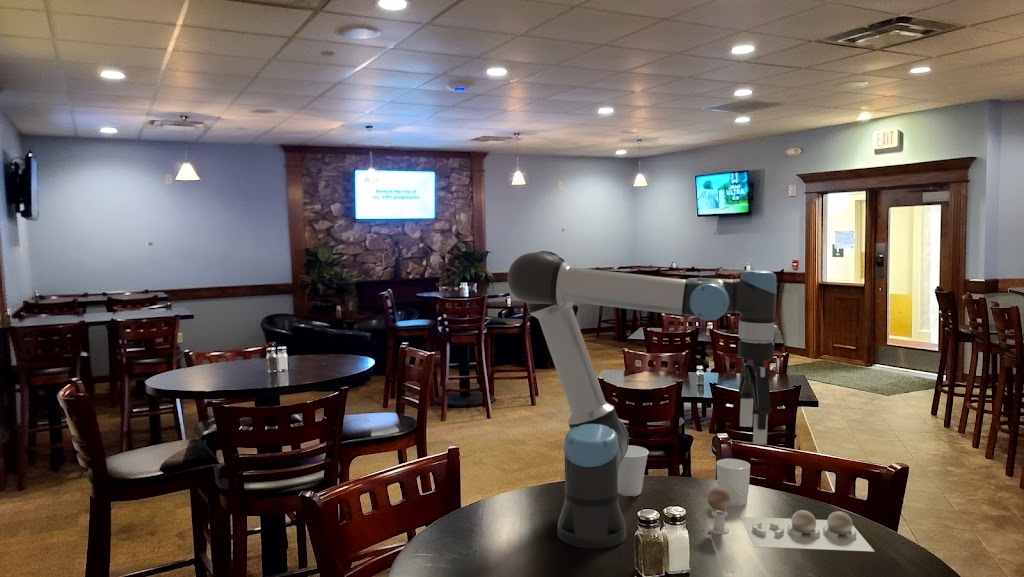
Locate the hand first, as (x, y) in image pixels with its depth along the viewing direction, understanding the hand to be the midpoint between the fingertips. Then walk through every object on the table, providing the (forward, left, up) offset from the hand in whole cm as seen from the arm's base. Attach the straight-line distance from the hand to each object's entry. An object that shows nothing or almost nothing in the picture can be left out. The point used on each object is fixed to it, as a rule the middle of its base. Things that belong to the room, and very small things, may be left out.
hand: (752, 434), depth 162 cm
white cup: (-2, +14, -21) cm, 26 cm away
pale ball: (+18, -4, -21) cm, 27 cm away
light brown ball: (-8, -4, -16) cm, 18 cm away
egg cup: (-8, -4, -21) cm, 23 cm away
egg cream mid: (+10, -4, -21) cm, 23 cm away
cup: (-27, +19, -21) cm, 39 cm away
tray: (+10, -4, -21) cm, 24 cm away
